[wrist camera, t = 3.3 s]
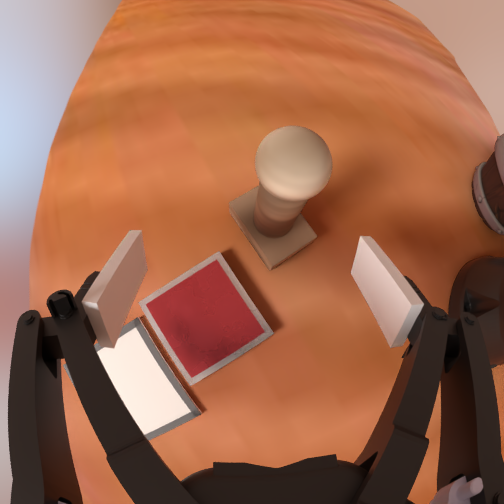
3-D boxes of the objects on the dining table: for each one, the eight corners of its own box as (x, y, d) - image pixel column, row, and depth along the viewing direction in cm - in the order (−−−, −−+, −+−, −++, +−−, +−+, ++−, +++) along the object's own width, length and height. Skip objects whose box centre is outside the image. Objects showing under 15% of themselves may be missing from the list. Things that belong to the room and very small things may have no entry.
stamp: (309, 244, 28) (375, 172, 14) (268, 271, 27) (306, 216, 13) (270, 190, 29) (297, 88, 15) (229, 213, 28) (225, 116, 14)
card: (202, 412, 23) (201, 414, 23) (120, 451, 21) (119, 452, 21) (139, 317, 25) (137, 317, 24) (65, 364, 23) (63, 365, 22)
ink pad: (272, 332, 25) (274, 333, 24) (192, 383, 24) (190, 386, 22) (219, 254, 27) (218, 250, 25) (142, 303, 25) (137, 302, 24)
